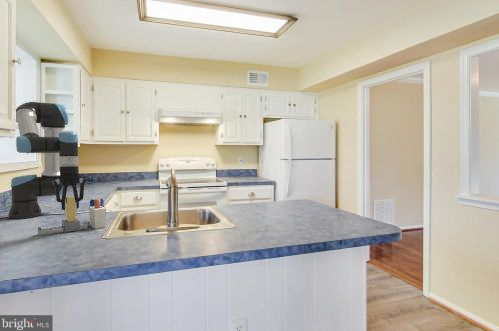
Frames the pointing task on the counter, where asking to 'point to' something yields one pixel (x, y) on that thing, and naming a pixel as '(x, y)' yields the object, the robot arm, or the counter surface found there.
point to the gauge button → (97, 203)
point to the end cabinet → (97, 217)
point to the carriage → (71, 216)
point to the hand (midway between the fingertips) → (70, 216)
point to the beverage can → (93, 202)
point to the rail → (58, 229)
